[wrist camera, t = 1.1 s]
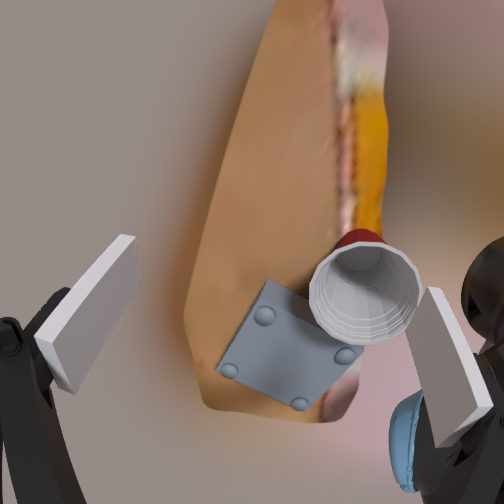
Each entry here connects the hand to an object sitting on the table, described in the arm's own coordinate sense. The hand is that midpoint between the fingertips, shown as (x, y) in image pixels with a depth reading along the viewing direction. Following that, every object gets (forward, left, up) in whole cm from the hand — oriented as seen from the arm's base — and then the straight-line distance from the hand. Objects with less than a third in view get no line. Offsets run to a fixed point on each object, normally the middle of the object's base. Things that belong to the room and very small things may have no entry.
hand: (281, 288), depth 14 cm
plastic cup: (-9, +5, -26) cm, 28 cm away
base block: (-8, +22, -26) cm, 35 cm away
